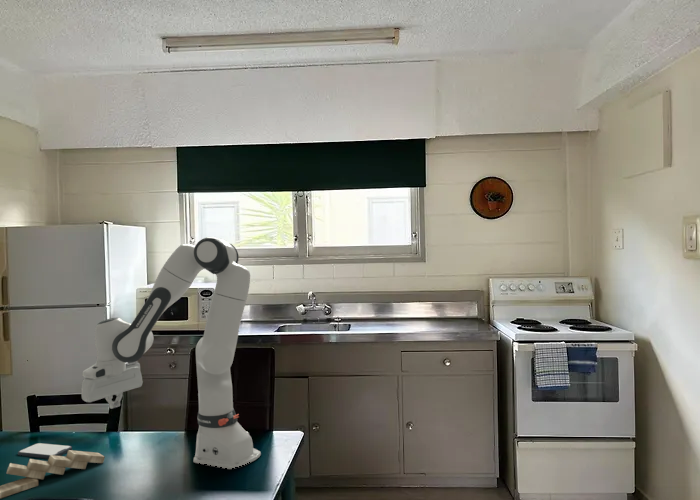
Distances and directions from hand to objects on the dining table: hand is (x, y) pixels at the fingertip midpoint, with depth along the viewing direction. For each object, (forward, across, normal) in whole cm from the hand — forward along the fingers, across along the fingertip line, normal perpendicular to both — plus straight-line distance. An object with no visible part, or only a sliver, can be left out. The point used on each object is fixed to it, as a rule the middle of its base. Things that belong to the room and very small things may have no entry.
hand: (114, 407), depth 181 cm
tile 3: (+14, +18, 0) cm, 23 cm away
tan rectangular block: (+15, +7, +1) cm, 16 cm away
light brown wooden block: (+14, +12, 0) cm, 19 cm away
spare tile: (+14, +26, -1) cm, 30 cm away
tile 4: (+14, +23, -2) cm, 27 cm away
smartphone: (+15, +13, -23) cm, 31 cm away
